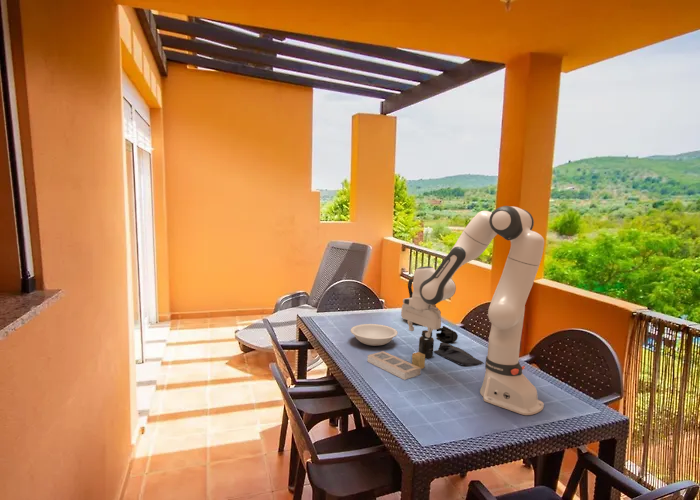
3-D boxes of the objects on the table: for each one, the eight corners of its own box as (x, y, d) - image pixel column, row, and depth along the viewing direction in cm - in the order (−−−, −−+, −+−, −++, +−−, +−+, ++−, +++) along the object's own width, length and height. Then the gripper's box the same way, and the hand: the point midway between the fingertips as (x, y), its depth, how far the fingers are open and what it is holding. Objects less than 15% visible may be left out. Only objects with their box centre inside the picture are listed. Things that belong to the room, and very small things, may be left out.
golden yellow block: (424, 367, 179) (425, 354, 179) (418, 369, 177) (419, 356, 176) (417, 364, 182) (418, 351, 182) (411, 366, 180) (412, 353, 179)
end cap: (457, 343, 214) (458, 331, 213) (445, 344, 211) (446, 332, 210) (446, 337, 223) (447, 325, 222) (435, 338, 220) (436, 326, 220)
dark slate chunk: (459, 369, 181) (459, 358, 180) (431, 351, 201) (431, 342, 200) (486, 365, 187) (487, 355, 186) (456, 348, 207) (457, 339, 206)
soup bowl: (344, 348, 200) (345, 335, 199) (355, 333, 223) (356, 321, 222) (393, 354, 194) (394, 341, 193) (399, 338, 217) (400, 326, 217)
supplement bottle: (432, 359, 189) (434, 334, 188) (417, 358, 191) (419, 333, 189) (432, 354, 196) (434, 330, 195) (418, 353, 197) (419, 328, 196)
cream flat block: (420, 374, 172) (420, 367, 171) (404, 379, 166) (404, 372, 165) (383, 357, 190) (383, 351, 189) (367, 361, 184) (367, 355, 183)
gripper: (445, 307, 170) (442, 339, 172) (409, 297, 186) (407, 326, 188) (435, 309, 167) (433, 342, 168) (400, 298, 182) (397, 328, 184)
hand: (419, 333), depth 178 cm, fingers open, 8 cm apart
